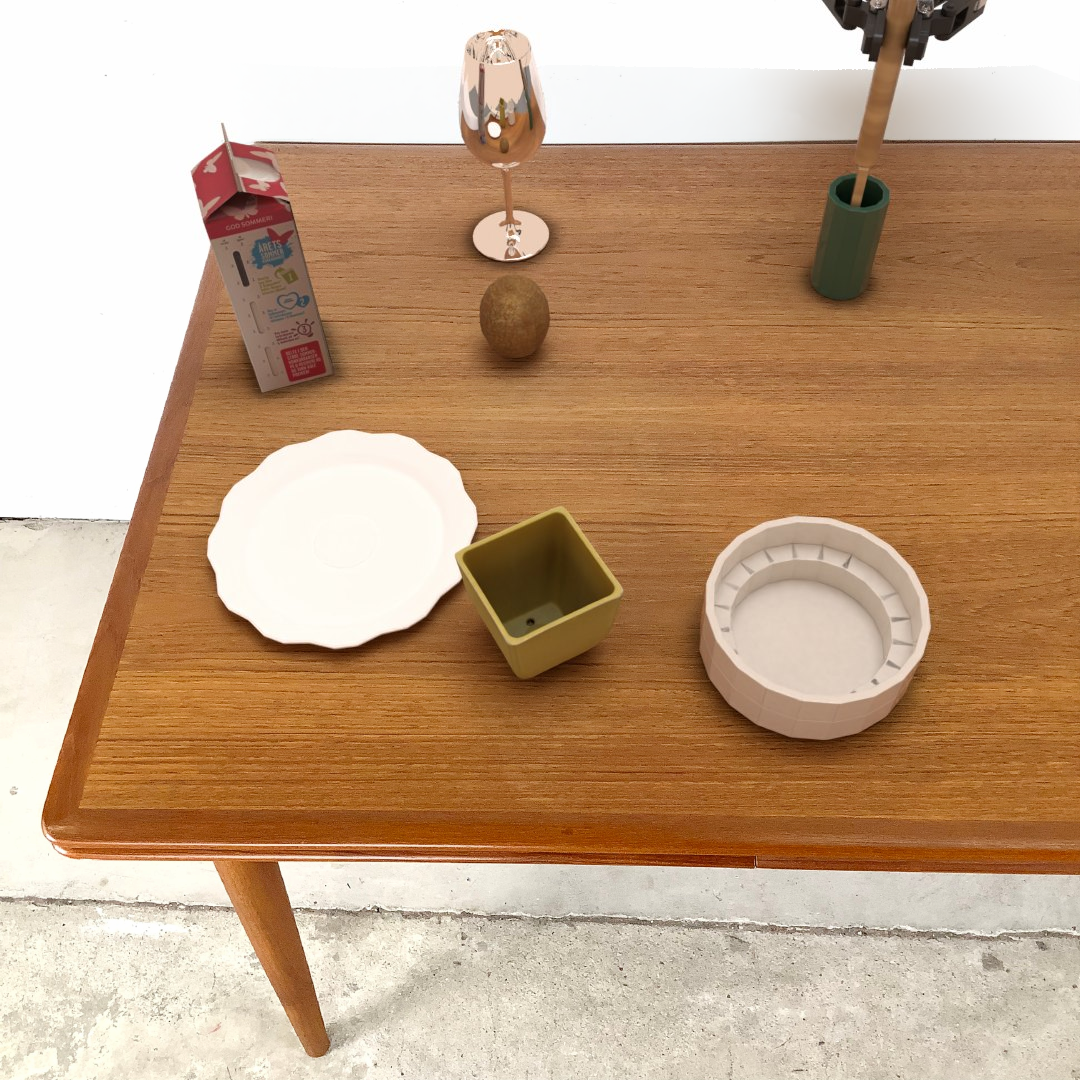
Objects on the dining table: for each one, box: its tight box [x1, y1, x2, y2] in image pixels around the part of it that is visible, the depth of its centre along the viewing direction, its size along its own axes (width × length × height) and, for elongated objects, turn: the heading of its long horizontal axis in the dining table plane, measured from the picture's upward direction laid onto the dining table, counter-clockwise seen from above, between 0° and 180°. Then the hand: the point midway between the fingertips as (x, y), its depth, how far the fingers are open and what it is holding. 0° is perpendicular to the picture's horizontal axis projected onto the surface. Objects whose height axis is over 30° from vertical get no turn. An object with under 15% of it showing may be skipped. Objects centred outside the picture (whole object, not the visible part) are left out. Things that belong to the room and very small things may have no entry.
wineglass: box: [458, 28, 550, 263], centre depth 102 cm, size 8×8×20 cm
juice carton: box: [190, 122, 335, 393], centre depth 93 cm, size 7×7×22 cm
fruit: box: [479, 273, 551, 359], centre depth 98 cm, size 6×6×8 cm
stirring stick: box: [850, 0, 918, 207], centre depth 89 cm, size 3×2×24 cm
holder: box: [810, 172, 891, 301], centre depth 101 cm, size 5×5×10 cm
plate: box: [206, 429, 479, 650], centre depth 89 cm, size 21×21×2 cm
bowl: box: [699, 515, 932, 741], centre depth 80 cm, size 15×15×6 cm
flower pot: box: [455, 505, 624, 680], centre depth 80 cm, size 9×9×9 cm
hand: (893, 52), depth 83 cm, fingers closed on stirring stick, 2 cm apart
